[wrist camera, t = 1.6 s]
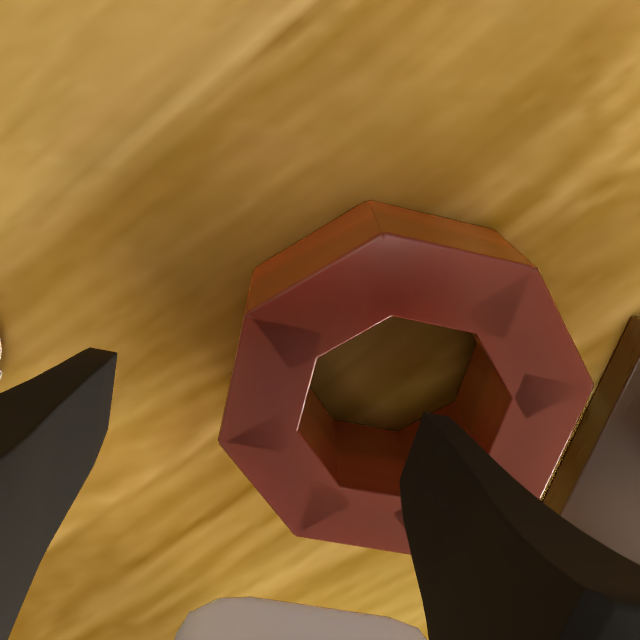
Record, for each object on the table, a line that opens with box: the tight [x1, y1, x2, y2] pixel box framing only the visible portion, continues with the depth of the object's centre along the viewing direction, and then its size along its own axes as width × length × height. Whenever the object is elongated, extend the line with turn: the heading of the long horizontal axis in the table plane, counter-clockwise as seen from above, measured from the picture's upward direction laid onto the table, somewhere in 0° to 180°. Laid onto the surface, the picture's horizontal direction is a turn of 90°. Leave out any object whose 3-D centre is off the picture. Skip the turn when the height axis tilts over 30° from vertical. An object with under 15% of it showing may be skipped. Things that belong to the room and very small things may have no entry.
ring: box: [218, 201, 594, 555], centre depth 18 cm, size 9×9×3 cm
